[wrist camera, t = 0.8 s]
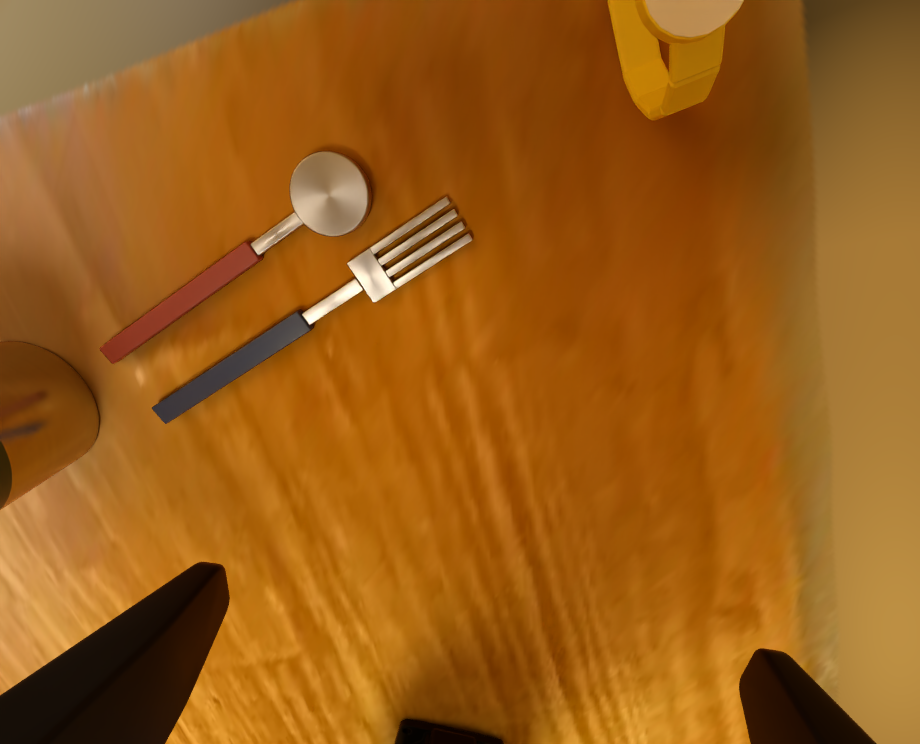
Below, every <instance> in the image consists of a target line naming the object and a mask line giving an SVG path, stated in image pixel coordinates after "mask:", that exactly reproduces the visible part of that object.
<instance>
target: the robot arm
mask: <svg viewBox="0 0 920 744" xmlns="http://www.w3.org/2000/svg"><path fill="white" fill-rule="evenodd" d="M229 599H230V597H229V590H228V584H227V577H226V571H225V568H224V567H223V566H222V565H220V564H215V563H209V562H199V563H197V564H195V565H193V566H191V567H190V568H189V569H187V570H186V571H184V572H183V573H181V574H180V575H178V576H177V577H175V578H174V579H172V580H171V581H169V582H168V583H166V584H165V585H163V586H162V587H160V588H159V589H157V590H156V591H154V592H153V593H151V594H150V595H148V596H147V597H146V598H144V599H143V600H141V601H140V602H138V603H137V604H135V605H134V606H132V607H131V608H129V609H128V610H126V611H125V612H123V613H122V614H120V615H119V616H117V617H116V618H114V619H113V620H111V621H110V622H108V623H107V624H105V625H104V626H103V627H101V628H100V629H98V630H97V631H95V632H94V633H92V634H91V635H89V636H88V637H86V638H85V639H83V640H82V641H80V642H79V643H77V644H76V645H74V646H73V647H71V648H70V649H68V650H67V651H65V652H64V653H62V654H61V655H60V656H58V657H57V658H55V659H54V660H52V661H51V662H49V663H48V664H46V665H45V666H43V667H42V668H40V669H39V670H37V671H36V672H34V673H33V674H31V675H30V676H28V677H27V678H25V679H24V680H22V681H21V682H19V683H18V684H17V685H15V686H14V687H12V688H11V689H9V690H8V691H6V692H5V693H3V694H2V695H0V744H165V743H166V741H167V739H168V737H169V735H170V733H171V732H172V730H173V728H174V726H175V724H176V723H177V721H178V719H179V717H180V715H181V713H182V711H183V709H184V707H185V705H186V703H187V701H188V699H189V697H190V695H191V692H192V690H193V688H194V686H195V684H196V681H197V679H198V677H199V674H200V672H201V670H202V667H203V665H204V663H205V660H206V658H207V656H208V654H209V651H210V649H211V647H212V644H213V642H214V640H215V637H216V635H217V633H218V630H219V628H220V626H221V624H222V621H223V619H224V617H225V614H226V612H227V609H228V606H229ZM739 691H740V697H741V702H742V706H743V711H744V715H745V720H746V724H747V729H748V733H749V738H750V742H751V744H876V743H875V742H874V741H873V740H872V739H871V738H870V737H869V736H868V735H867V734H866V733H865V732H864V731H863V729H862V728H861V727H860V726H858V725H857V723H855V721H853V720H852V718H850V717H849V715H848V714H847V713H846V712H845V711H844V710H843V709H842V708H841V707H840V706H839V705H838V704H837V703H836V702H835V701H834V700H833V699H832V698H831V697H830V696H829V695H828V694H827V693H826V692H825V691H824V690H823V689H822V688H821V687H820V686H819V685H818V684H817V683H816V682H815V681H814V680H813V679H812V678H811V677H810V676H809V675H808V674H807V673H806V672H805V671H804V670H803V669H802V668H801V667H800V666H799V665H798V664H797V663H796V662H795V661H794V660H793V659H792V658H791V657H790V656H789V655H787V654H786V653H784V652H781V651H776V650H770V649H763V648H760V649H758V650H756V651H755V652H754V654H753V656H752V658H751V659H750V661H749V663H748V665H747V667H746V668H745V670H744V672H743V674H742V676H741V678H740V683H739ZM395 744H504V743H503V741H502V740H501V739H498V738H494V737H489V736H485V735H480V734H475V733H471V732H466V731H462V730H457V729H452V728H448V727H443V726H439V725H434V724H429V723H425V722H420V721H416V720H411V719H404V720H402V721H401V722H400V725H399V729H398V733H397V736H396V740H395Z"/></svg>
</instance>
